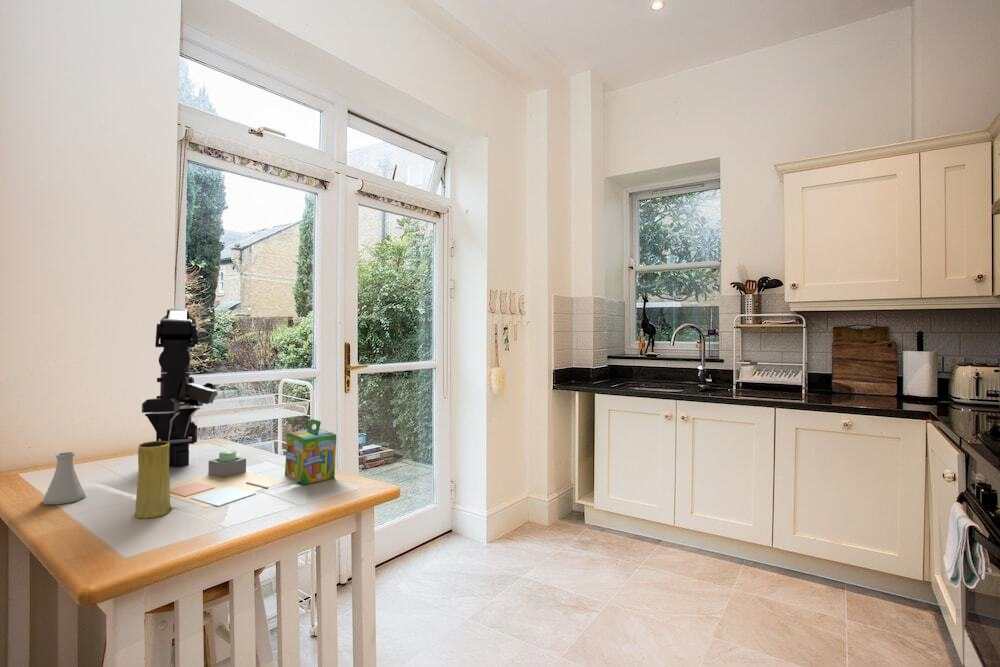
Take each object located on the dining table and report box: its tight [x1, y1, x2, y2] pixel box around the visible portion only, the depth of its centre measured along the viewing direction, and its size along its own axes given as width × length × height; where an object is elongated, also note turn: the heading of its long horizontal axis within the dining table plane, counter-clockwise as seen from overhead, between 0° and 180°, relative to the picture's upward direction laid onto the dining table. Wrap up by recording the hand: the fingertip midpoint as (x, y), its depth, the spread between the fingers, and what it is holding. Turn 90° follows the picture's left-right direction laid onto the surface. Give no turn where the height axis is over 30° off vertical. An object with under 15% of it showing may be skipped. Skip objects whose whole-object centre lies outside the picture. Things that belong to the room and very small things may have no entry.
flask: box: [42, 451, 86, 505], centre depth 109 cm, size 7×7×10 cm
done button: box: [218, 449, 237, 463], centre depth 128 cm, size 4×4×4 cm
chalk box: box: [284, 418, 337, 486], centre depth 130 cm, size 9×9×15 cm
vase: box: [134, 440, 172, 520], centre depth 104 cm, size 6×6×14 cm
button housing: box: [207, 455, 247, 478], centre depth 129 cm, size 6×6×4 cm
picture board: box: [170, 471, 286, 509], centre depth 119 cm, size 22×20×1 cm
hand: (173, 440), depth 117 cm, fingers open, 9 cm apart
